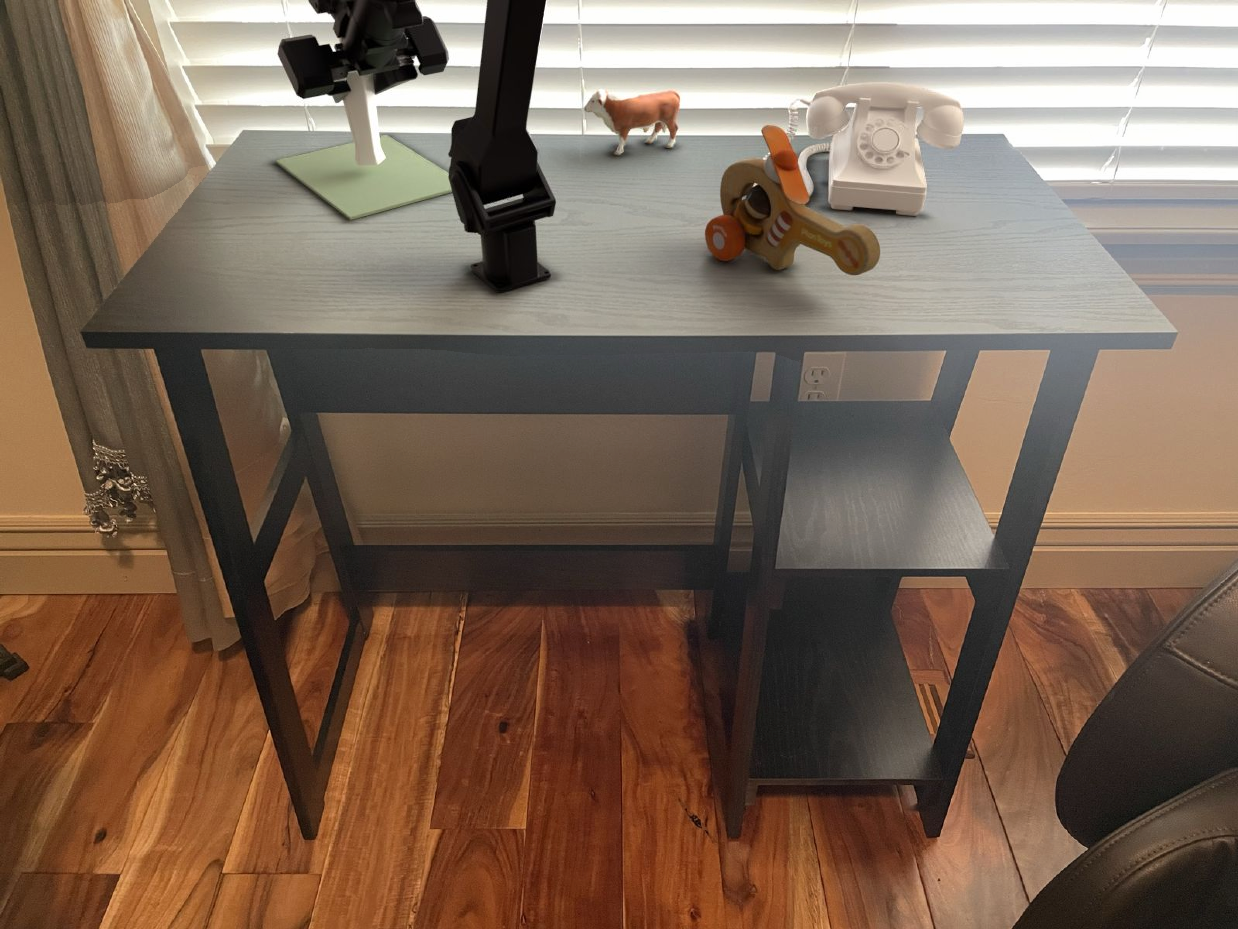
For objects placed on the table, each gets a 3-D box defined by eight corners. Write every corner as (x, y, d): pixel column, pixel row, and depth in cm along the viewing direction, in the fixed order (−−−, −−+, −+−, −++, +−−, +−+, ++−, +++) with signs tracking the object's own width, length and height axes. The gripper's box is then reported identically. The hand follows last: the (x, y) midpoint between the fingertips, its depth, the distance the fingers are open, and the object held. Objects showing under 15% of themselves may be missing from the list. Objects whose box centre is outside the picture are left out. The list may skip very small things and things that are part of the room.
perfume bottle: (359, 152, 120) (335, 27, 111) (391, 154, 119) (370, 29, 110) (344, 165, 117) (318, 38, 107) (377, 167, 116) (353, 39, 106)
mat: (468, 187, 117) (468, 184, 116) (350, 220, 109) (350, 217, 109) (386, 137, 130) (386, 134, 130) (276, 163, 122) (275, 160, 122)
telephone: (745, 203, 114) (755, 99, 106) (756, 143, 130) (766, 49, 122) (955, 221, 110) (983, 115, 102) (940, 157, 126) (963, 61, 118)
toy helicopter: (746, 229, 108) (759, 109, 99) (890, 298, 96) (919, 168, 87) (695, 249, 104) (703, 125, 95) (838, 324, 92) (863, 190, 83)
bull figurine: (582, 147, 128) (581, 86, 123) (674, 138, 131) (676, 77, 126) (591, 159, 125) (590, 96, 119) (684, 149, 128) (688, 87, 123)
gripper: (425, -61, 105) (394, 24, 118) (263, -42, 96) (250, 48, 110) (466, 28, 105) (431, 103, 118) (308, 56, 96) (290, 133, 110)
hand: (353, 95), depth 114 cm, fingers closed on perfume bottle, 4 cm apart
